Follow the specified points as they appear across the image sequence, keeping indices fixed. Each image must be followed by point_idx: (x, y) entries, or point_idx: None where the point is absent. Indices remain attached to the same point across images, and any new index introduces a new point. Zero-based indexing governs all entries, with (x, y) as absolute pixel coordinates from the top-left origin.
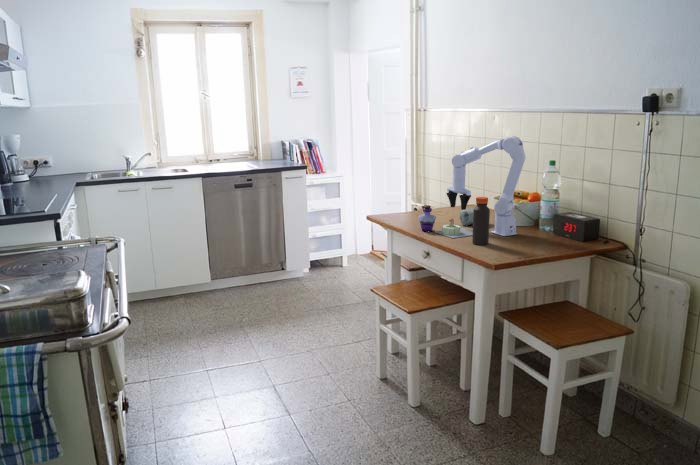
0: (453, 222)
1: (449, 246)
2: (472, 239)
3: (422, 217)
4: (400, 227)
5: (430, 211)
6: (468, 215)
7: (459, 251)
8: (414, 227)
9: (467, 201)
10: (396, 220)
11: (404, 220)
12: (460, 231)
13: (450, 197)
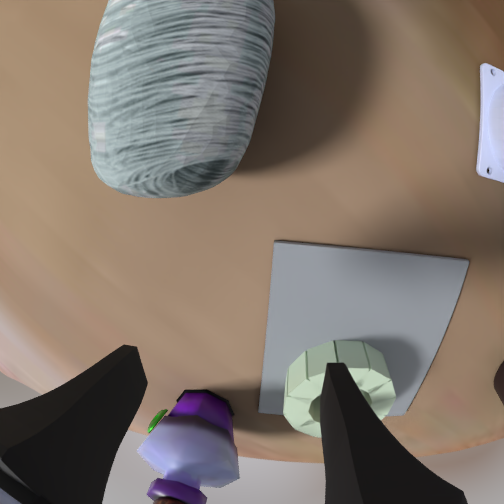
0: None
1: (444, 449)
2: (499, 397)
3: (206, 486)
4: None
5: (203, 495)
6: (225, 162)
7: (485, 443)
8: None
9: (390, 447)
10: (13, 351)
11: (13, 333)
12: (352, 326)
13: (104, 482)
